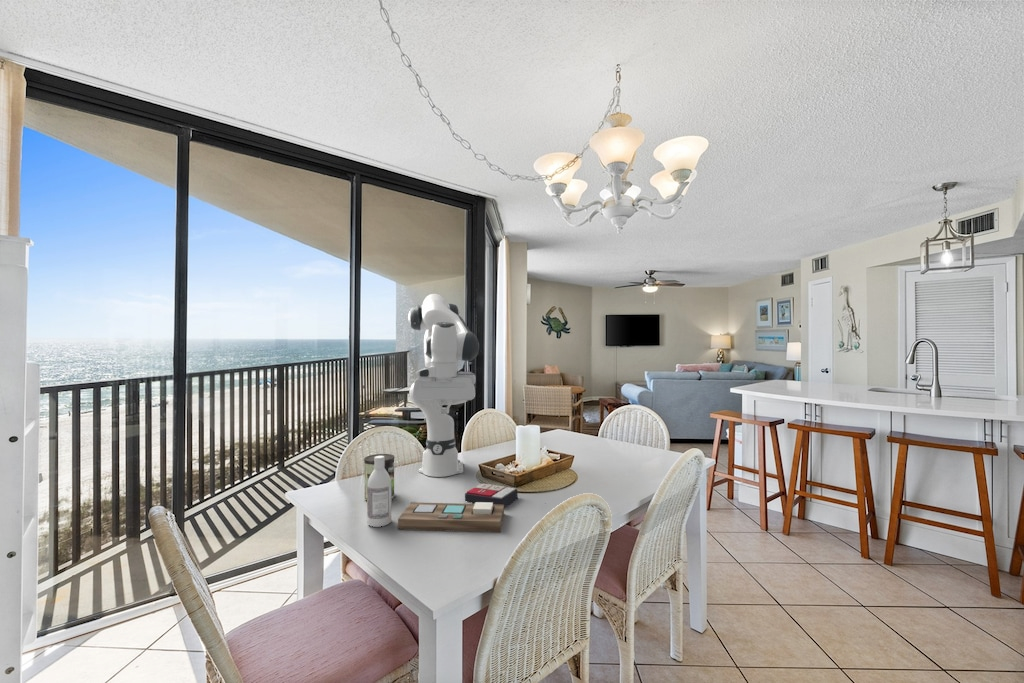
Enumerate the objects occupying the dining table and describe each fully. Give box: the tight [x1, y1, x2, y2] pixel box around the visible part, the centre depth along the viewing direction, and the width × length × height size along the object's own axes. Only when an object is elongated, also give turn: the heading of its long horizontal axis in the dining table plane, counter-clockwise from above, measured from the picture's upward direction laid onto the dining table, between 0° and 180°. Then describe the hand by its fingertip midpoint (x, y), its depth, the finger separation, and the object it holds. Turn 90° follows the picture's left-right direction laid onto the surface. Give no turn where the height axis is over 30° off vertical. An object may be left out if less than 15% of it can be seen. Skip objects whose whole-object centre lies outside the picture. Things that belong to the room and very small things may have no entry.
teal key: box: [443, 505, 465, 514], centre depth 133 cm, size 6×6×2 cm
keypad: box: [397, 501, 505, 533], centre depth 132 cm, size 13×30×3 cm, turn 86°
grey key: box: [414, 505, 436, 513], centre depth 134 cm, size 6×6×2 cm
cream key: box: [473, 502, 493, 515], centre depth 133 cm, size 6×6×2 cm
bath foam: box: [366, 456, 392, 528], centre depth 131 cm, size 7×7×20 cm
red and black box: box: [464, 483, 519, 509], centre depth 150 cm, size 11×4×15 cm
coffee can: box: [363, 453, 395, 501], centre depth 152 cm, size 10×10×14 cm
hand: (444, 413), depth 143 cm, fingers closed
